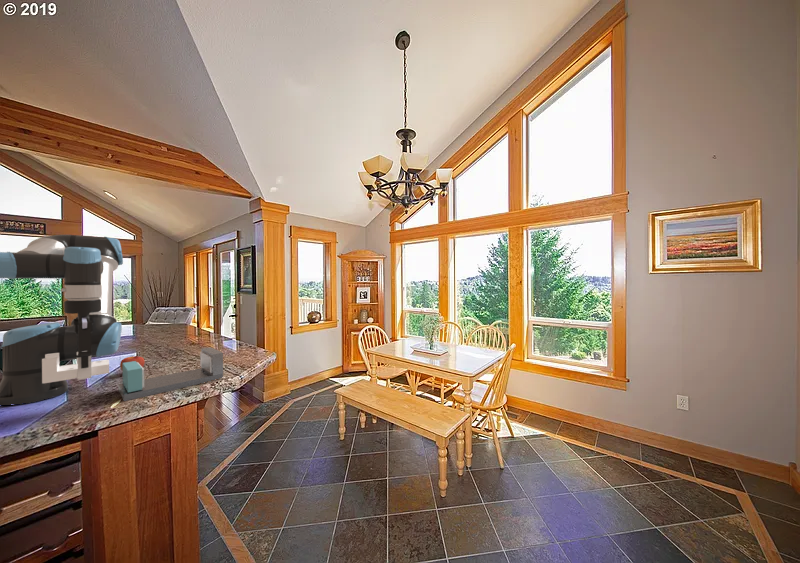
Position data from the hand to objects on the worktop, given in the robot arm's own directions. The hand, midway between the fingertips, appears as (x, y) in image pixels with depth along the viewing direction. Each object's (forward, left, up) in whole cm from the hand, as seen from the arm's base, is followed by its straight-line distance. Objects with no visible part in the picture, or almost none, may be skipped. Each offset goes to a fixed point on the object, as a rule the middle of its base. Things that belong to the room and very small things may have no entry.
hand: (83, 375), depth 88 cm
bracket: (0, -1, -1) cm, 1 cm away
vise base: (-3, +22, -10) cm, 25 cm away
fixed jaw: (-3, +34, -8) cm, 35 cm away
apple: (-30, +14, -10) cm, 35 cm away
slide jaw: (-3, +11, -7) cm, 14 cm away
